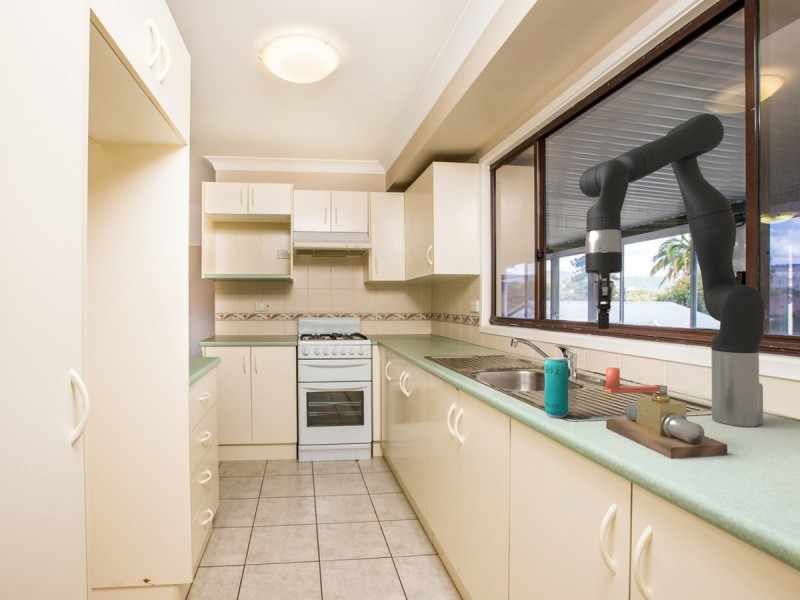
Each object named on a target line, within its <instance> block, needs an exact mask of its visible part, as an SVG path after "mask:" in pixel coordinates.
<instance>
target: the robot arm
mask: <svg viewBox="0 0 800 600" xmlns="http://www.w3.org/2000/svg"><path fill="white" fill-rule="evenodd" d="M723 125H724V124H723V123H722V121H721V120H720V118H718V117H717V116H716V115H714V114H711V113H701V114H698V115H695V116H693V117H691V118H689V119H687V120H685V121H684V122H682V123H680V124H679V125H676V126H675V127H673V128H671V129H670V130H668V132H667V133H666V135H664V136H662V137H660V138H657V139H655V140H652V141H650V142H647V143H644V144H642V145H640V146H637V147H634V148H632V149H631V150H628V151H626V152H623V153H622V154H620V155H618V156H617V157H615V158H612V159H609V160H606V161H604V162H601V163H599V164H596V165H593V166H590V167H589V168H587V169H585V170H584V171H583V172H582V174H581V176H580V178H579V181H578V185H579V189H580V191H581V193H582V194H583V195H585V196H586V197H588V198H598V200H597V201H596V203H594V205H592V206H590V207H589V208H588V210H587V212H586V235H585V241H584V242H585V243H584V244H585V245H584V247H585V248H584V249H585V251H584V252H585V255H584V256H585V257H584V258H585V261H584V262H585V263H584V265H585V267H584V268H585V269H584V270H585V273H586V274H589V275H593V274H594V275H596V276H597V278H596V279H597V280H595V281H593V290H594V301H595V302H596V305H595V306H596V312H597V328H598V329H599V330H608V329H610V311H611V308H612V306H611V305H612V304H611V302H613V290H614V288H615V287H614V285H615V284H614V283H615V281H613V280H611V276H610V275H611V274H620V273H621V272H622V271H623V238H622V231H621V230H622V229H621V227H622V224H621V223H622V222H621V219H622V218H621V214H622V213H621V212H622V209H623V206H624V202H625V200H626V199H625V198H626V195H627V192H628V188H629V184H631V183H634V182H637V181H639V180H641V179H643V178H645V177H648V176H649V175H651V174H653V173H655V172H657V171H659V170H660V169H662V168H664V167H666V166H668V165H671V168H672V171H673V174H674V176H675V179H676V181H677V184H678V188H679V191H680V194H681V195H680V196H681V199H682V202H683V204H684V205H683V206H684V209H685V214H686V219H687V224H688V227H689V231H690V236H691V238H692V241H693V242H692V244H693V247H694V249H695V254H696V259H697V262H698V266H699V270H700V276H701V284H702V290H703V292H702V293H703V299H704V305H705V309H706V311H707V313H708V314H709V316H710V317H711V318H712V319H714V320H716V321H718V322H720V323H719V330H718V333H717V335H716V336H715V337H713V338H712V339H711V419H712V420H713V421H715V422H718V423H721V424H725V425H731V426H735V427H736V426H738V427H758V426H760V425H764V386H763V384H762V383H761V382H760V346H761V343H762V341H763V339H764V329H765V301H764V299H763V296H762V294H761V293H760V291H759V290H758V289H757V288H755V287H753V286H750V285H747V284H738V281H737V279H736V275H735V271H734V265H733V257H734V251H735V248H736V247H735V246H736V240H737V225H736V224H737V223H736V220H735V215H734V212H733V208H732V205H731V202H730V200H728V198H727V197H726V196H725V195H724V194H723V193H722V192H721V191H719V189H717V188H716V187H715V186H713V185H712V184H711V183H709V182H708V180H706V178H705V177H704V175H703V173H702V172H701V169H700V166H699V163H698V157H699V156H702V155H705V154H706V153H708V152H712V151H713V150H715V148H717V147H718V146H719V145H720V144H721V143H722V141H723V139H724V135H725V130H724V126H723ZM603 302H604V303H603Z"/></svg>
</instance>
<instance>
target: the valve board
mask: <svg viewBox="0 0 800 600" xmlns="http://www.w3.org/2000/svg"><path fill="white" fill-rule="evenodd" d="M624 416H625V417H626V418H613V419H606V420H605V423H606V424H605V427H606V429H607V430H609V431H610V432H611V431H612V432H613V433H615V434H617V435H620V436H622V437H624V438H627V439H628V440H630V441H633V442H635V443H636V444H639V445H642V446H643V447H646V448H648V449H650V450H652V451H654V452H656V453H658V454H661V455H663V456H665V457H666V458H669V459H683V458H699V457H715V456H727V455H728V444H727V443H724V442H722V441H718V440H715V439H714V438H711V437H708V436H705V430H704V428H703V426H702V425H701V424H699V423H696V422H693V421H691V420H688V419H687V403H686V402H683V401H679V400H675V399H673V398H670V395H668V394H667V395H657V394H654V393H652V394H651V396H637V397H636V402H634V401H633V402H629V403H628V404H627V405H626V406H625V407H624Z"/></svg>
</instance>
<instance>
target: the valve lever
mask: <svg viewBox="0 0 800 600" xmlns="http://www.w3.org/2000/svg"><path fill="white" fill-rule="evenodd" d="M620 372H621V371H620V368H618V367H612V366H611V367H610V366H609V367H605V392H606V393H608V394H631V393H632V394H634V393H653V394H657V395H668V386H667V385H663V384H654V385H653V384H651V385H649V384H648V385H627V386H626V385H623V386H622V385H621V384H620V383H621V380H620V379H621V378H620V376H621V373H620ZM620 385H621V386H620Z"/></svg>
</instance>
